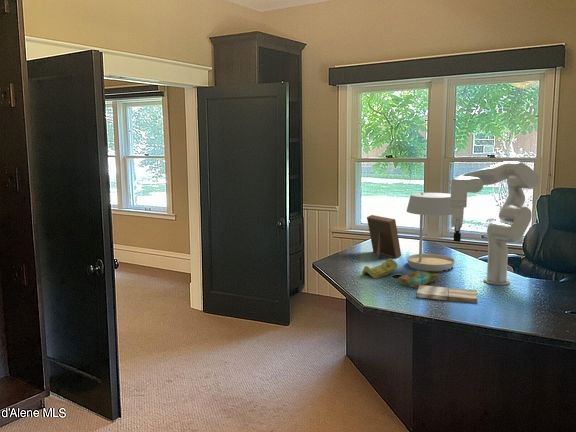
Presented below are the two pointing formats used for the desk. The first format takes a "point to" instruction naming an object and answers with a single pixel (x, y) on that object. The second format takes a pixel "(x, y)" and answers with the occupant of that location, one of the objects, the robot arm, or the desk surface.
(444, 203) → the lamp
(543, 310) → the desk surface
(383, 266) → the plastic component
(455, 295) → the oak floorboard
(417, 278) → the puzzle game
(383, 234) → the photo frame
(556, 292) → the desk surface
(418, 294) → the birch plank
